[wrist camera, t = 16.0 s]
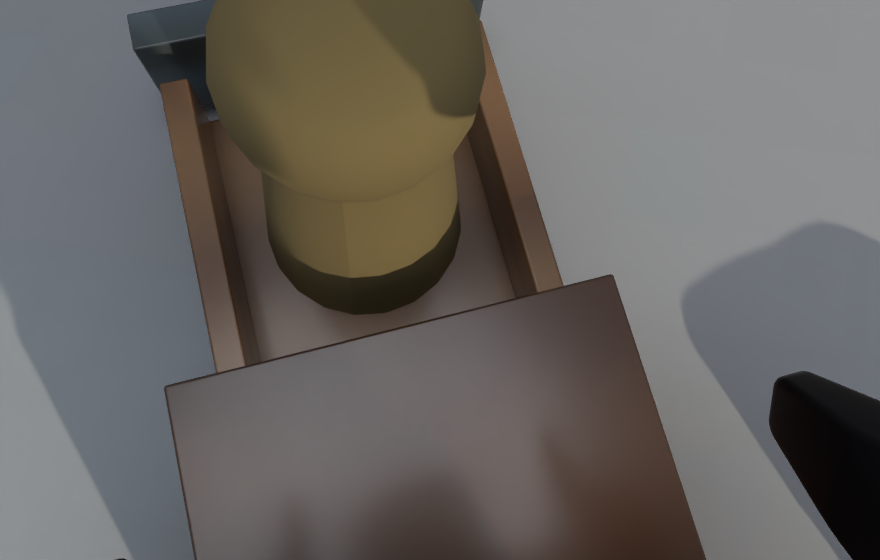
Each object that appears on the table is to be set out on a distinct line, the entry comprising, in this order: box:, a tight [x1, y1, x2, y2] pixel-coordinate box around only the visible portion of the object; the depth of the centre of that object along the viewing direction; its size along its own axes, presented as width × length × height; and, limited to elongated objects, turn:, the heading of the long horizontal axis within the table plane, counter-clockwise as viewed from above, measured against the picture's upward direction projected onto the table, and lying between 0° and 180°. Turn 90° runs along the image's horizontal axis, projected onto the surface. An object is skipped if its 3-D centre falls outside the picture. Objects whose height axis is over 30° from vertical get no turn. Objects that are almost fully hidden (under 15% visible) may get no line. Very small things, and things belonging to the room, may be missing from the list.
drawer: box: [127, 0, 563, 373], centre depth 22 cm, size 17×10×4 cm, turn 15°
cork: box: [206, 0, 486, 315], centre depth 17 cm, size 6×6×11 cm
